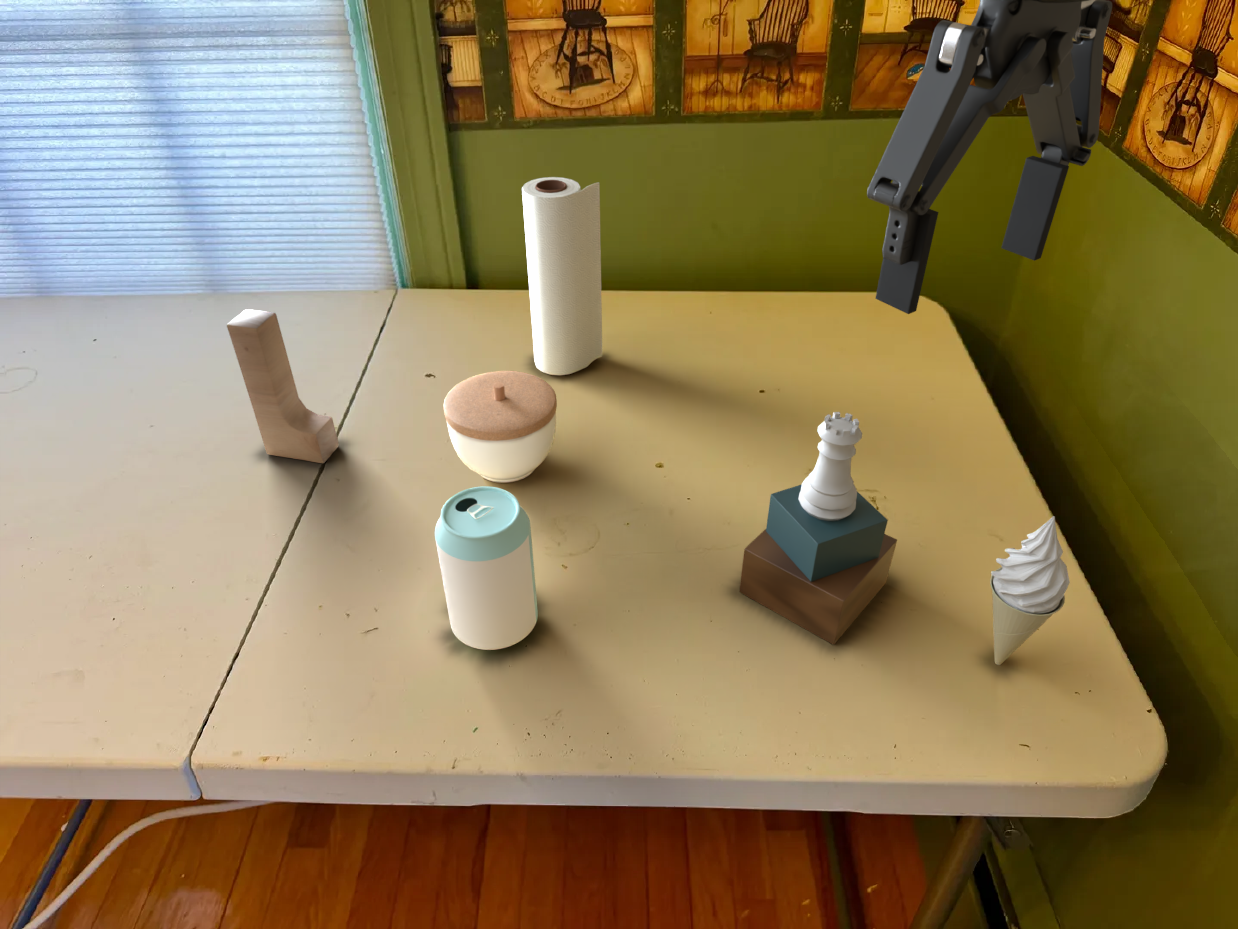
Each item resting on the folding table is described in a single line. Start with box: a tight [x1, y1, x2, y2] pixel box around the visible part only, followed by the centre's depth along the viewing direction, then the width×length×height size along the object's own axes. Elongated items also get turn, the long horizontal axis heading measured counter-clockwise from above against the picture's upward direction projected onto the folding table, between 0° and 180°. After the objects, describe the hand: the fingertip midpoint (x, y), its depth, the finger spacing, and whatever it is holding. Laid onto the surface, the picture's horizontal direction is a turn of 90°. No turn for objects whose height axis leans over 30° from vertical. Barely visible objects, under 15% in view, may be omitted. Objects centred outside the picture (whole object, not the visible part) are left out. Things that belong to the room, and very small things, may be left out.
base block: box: [738, 528, 898, 646], centre depth 72 cm, size 9×9×5 cm
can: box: [434, 485, 539, 651], centre depth 67 cm, size 7×7×12 cm
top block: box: [765, 483, 889, 582], centre depth 70 cm, size 6×6×4 cm
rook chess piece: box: [798, 411, 863, 521], centre depth 66 cm, size 4×4×8 cm
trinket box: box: [442, 370, 558, 484], centre depth 85 cm, size 11×11×9 cm
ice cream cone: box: [989, 515, 1071, 666], centre depth 63 cm, size 5×5×15 cm
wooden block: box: [226, 308, 340, 464], centre depth 85 cm, size 7×3×15 cm, turn 76°
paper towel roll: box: [521, 176, 604, 376], centre depth 96 cm, size 7×6×21 cm
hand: (961, 278), depth 60 cm, fingers open, 13 cm apart
